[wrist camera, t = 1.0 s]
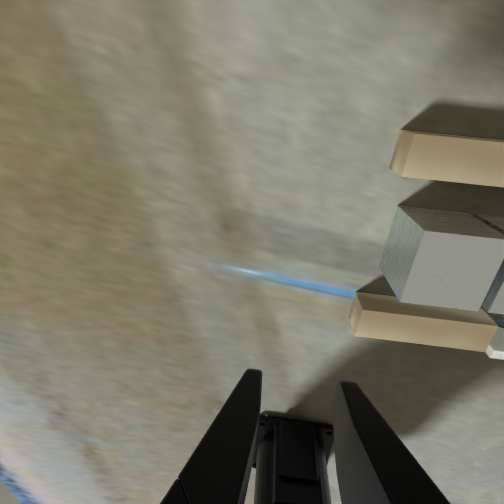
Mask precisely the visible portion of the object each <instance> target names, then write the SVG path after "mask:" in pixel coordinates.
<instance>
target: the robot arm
mask: <svg viewBox="0 0 504 504" xmlns="http://www.w3.org/2000/svg"><path fill="white" fill-rule="evenodd" d="M261 389H262V371H261V370H257V369H247V370H246V371H245V373H244V374H243V376H242V377H241V379H240V381H239V382H238V384H237V385H236V387H235V388H234V390H233V392H232V393H231V395H230V396H229V398H228V399H227V401H226V402H225V404H224V406H223V407H222V409H221V410H220V412H219V413H218V415H217V416H216V418H215V420H214V421H213V423H212V424H211V426H210V427H209V429H208V430H207V432H206V434H205V435H204V437H203V438H202V440H201V441H200V443H199V444H198V446H197V448H196V449H195V451H194V452H193V454H192V455H191V457H190V459H189V460H188V462H187V463H186V465H185V466H184V468H183V469H182V471H181V473H180V474H179V476H178V479H176V480H175V482H174V483H173V485H172V486H171V488H170V489H169V491H168V492H167V494H166V496H165V497H164V498H163V500H162V501H161V503H160V504H244V502H245V497H246V492H247V487H248V483H249V478H250V473H251V468H252V467H253V468H256V479H255V494H254V504H331V498H330V490H329V482H328V474H327V466H326V462H327V459H328V456H329V453H330V450H331V446H332V443H333V440H334V444H335V459H336V471H337V478H338V485H339V490H340V496H341V502H342V504H450V502H449V501H448V500H447V499H446V497H445V496H444V495H443V493H442V492H441V491H440V490H439V488H438V487H437V486H436V485H435V483H434V482H433V481H432V479H431V478H430V477H429V476H428V474H427V473H426V472H425V471H424V469H423V468H422V467H421V465H420V464H419V463H418V462H417V460H416V459H415V458H414V457H413V455H412V454H411V453H410V451H409V450H408V449H407V448H406V446H405V445H404V444H403V442H402V441H401V440H400V439H399V437H398V436H397V435H396V434H395V432H394V431H393V430H392V428H391V427H390V426H389V425H388V423H387V422H386V421H385V420H384V418H383V417H382V416H381V414H380V413H379V412H378V411H377V409H376V408H375V407H374V406H373V404H372V403H371V402H370V400H369V399H368V398H367V397H366V395H365V394H364V393H363V392H362V390H361V389H360V388H359V386H358V385H357V384H356V383H355V382H350V381H343V380H342V381H339V383H338V385H337V389H336V392H335V396H334V399H333V404H332V414H333V426H332V425H327V424H319V423H312V422H304V421H297V420H289V419H282V418H274V417H267V416H259V415H260V406H261Z"/></svg>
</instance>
